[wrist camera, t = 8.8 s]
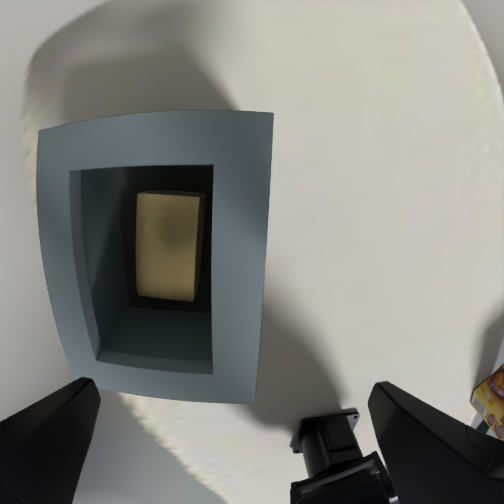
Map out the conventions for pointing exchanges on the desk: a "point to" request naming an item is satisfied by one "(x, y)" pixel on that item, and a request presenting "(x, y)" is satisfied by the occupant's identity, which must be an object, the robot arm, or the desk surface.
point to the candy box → (491, 401)
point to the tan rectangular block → (169, 243)
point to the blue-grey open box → (112, 255)
